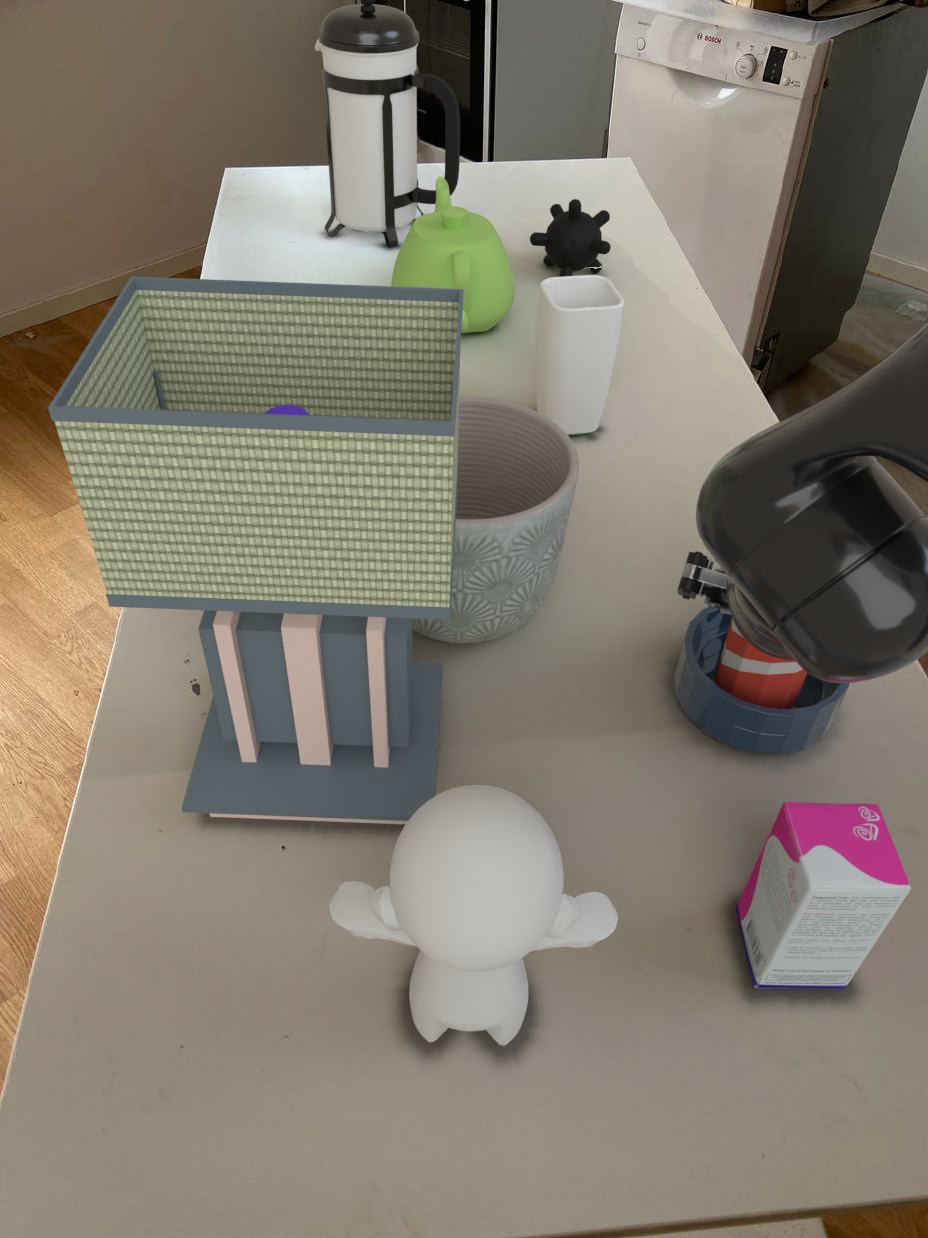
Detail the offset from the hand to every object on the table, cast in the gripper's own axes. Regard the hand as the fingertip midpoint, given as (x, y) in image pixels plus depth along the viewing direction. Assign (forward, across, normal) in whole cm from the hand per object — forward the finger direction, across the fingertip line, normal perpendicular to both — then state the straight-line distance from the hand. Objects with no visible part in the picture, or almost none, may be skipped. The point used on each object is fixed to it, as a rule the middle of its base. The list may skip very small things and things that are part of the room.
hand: (784, 612), depth 69 cm
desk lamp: (-6, +28, +20) cm, 35 cm away
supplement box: (-7, -6, +21) cm, 23 cm away
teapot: (+42, +48, -28) cm, 70 cm away
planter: (+7, +25, +6) cm, 27 cm away
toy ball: (+54, +39, -40) cm, 78 cm away
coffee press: (+55, +67, -42) cm, 97 cm away
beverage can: (+7, 0, +6) cm, 9 cm away
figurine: (-16, +10, +30) cm, 35 cm away
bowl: (+7, 0, +6) cm, 10 cm away
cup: (+29, +26, -15) cm, 42 cm away
